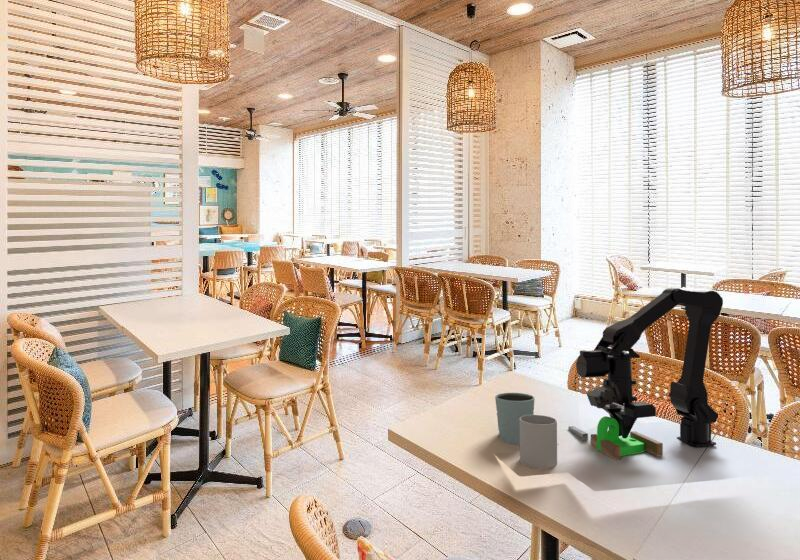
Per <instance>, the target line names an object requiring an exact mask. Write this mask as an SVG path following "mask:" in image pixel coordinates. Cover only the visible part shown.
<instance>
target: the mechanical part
mask: <svg viewBox="0 0 800 560" xmlns="http://www.w3.org/2000/svg"><path fill="white" fill-rule="evenodd" d="M596 426H597V427H596V434H597V449H596V450H597V451H599V450H600V451H601V443H600V439H601V440H609V441H611V442H613V443H615V444H617V445H619V446H621V457H624V456H630V455H635V454H640V453H643V452H645V451H646V450H645V443H644V442H642V441H640V440H638V439H636V438H634V437H631V436H630V435H628V437H627V438H622V436H619V424H618V422H617V420H616V419H614V418H611V417H610V416H606V415H605V416H603V417H601V418H600V419H599V421H598V423H597V425H596ZM600 451H599V452H600Z"/></svg>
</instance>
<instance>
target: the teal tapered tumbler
mask: <svg viewBox="0 0 800 560" xmlns="http://www.w3.org/2000/svg"><path fill="white" fill-rule="evenodd" d="M494 400H495V408H496V416H497V427H498V437H499V438H500V440H501V441H503V442H504V443H507V444H510V445H518V446H520V417H522V416H526V415H535V414H534V413H535V397H534V396H533V395H532V394H529V393H522V392H504V393H503V392H502V393H498V394H496V395H495V397H494Z"/></svg>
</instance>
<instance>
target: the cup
mask: <svg viewBox="0 0 800 560" xmlns="http://www.w3.org/2000/svg"><path fill="white" fill-rule="evenodd" d="M519 461H520V464H522V465H523V466H525V467H529V468H532V469H538V470H540V469H541V470H546V469H553V468H556V466H557V465H558V421H557V419H556V418H555V417H553V416H552V417H551V416H549V415H542V414H541V415H540V414H534V415H526V416H522V417H520V445H519Z"/></svg>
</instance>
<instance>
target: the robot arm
mask: <svg viewBox="0 0 800 560" xmlns="http://www.w3.org/2000/svg"><path fill="white" fill-rule="evenodd" d="M723 305H724V299H723V297H722V296H721V294H720V293H719V292H717V291H714V290H687V289H681V288H679V287H678V288H673V287H671V288H670V287H669V288H666V289H664V290H663V291H662V292H661V293H660V294H659V295H658V296H657V297H655V298H654V299H652V300H651V301H650V302H648V303H647V304H646V305H644V306H643V307H641V308H640V309H639V310H637V311H636V312H635V313H634V314H633V315H631V316H629V317H628V318H625V319H623V320H619V321H617V322H615V323H613V324H611V325H608V326H607V327H605V329H604V330H603V331H602V337H601V338H600V340H599V342H598V343H597V345H596V346H595V347H594V349H593V350H583V349H582V350H579V356H577V359H576V362H575V367H576V372H577V375H578V376H579V377H580V378H581V379H585V378H598V377H599V378H601V377H602V378H603V377H605V376H607V378H604V379H603V381H602V384H603V385H601V386H597V387H595V388H594V389H592V390H589V391H588V392H587V393H586V396H587V399H588V402H589V404H590V406H592V407H593V406H594V407H596V408H597V409H602V410H604V411H605V412H606V413H607V414H609V417H610V418H614V419H616V420H617V422H618V424H619V437H622V438H627V437H628V436H630V432H632V429H633V427H634V424H635V423H636V421H637V420H638V419H640V418H641V419H642V418H652V417H656V416H657V408H656V406H655V405H653V403H650V402H646V401H641V400H640V401H638V400H637V398H638V397H637V396H635V395H634V393H633V385H634V386H635V385H637V380H636V379H633V372H632V371H633V370H632V369H633V368H632V367H633V366H632V359H640V356H641V355H640V354H639V353H637V352H636V351H635V350H634V348H633V347H634V345H636V344H637V342H639V341H640V339H641V336H642V335H643V333H644V332H645V331H646V330H647V329H648V328H649V327H650V326H652V325H653V324H655V323H656V322H657V321H658V320H660V319H661V318H662V317H664V316H665V315H667V314H668V313H669V312H670V311H671V310H673V309H674V308H675V307H677V306H681V307H682V306H683V307H684V313H685V315H686V318H687V320H688V329H687V335H686V336H687V337H686V344H685V349H684V350H685V351H684V355H683V364H682V370H681V376H680V378H679V379H678V380H677V382H675V381H671V382H670V390H669V393H668V397H669V398H670V399H669V400H670V401H669V402H670V404H671V406H673V408H674V409H675V413H676V414H677V415H678V416H681V417H680V423H679V430H680V431H679V434H680V435H679V436H676V439H678V440H679V441H681V442H682V443H685V444H688V445H690V446H693V447H702V446H703V447H705V446H717V442H716V441H713V440H712V423H713V424H714V423H716V422H717V420H718V417H719V414H718V413H717V412H716V411H715V409H713V408H712V407H711V406H710V405H709V397H708V394H709V393H708V391H707V388H706V385H705V382H704V378H705V377H704V376H705V371H706V364H707V363H706V362H707V357H708V350H709V343H710V337H711V336H710V335H711V330H712V326H713V325H714V323H715V322H716V320H717V319H718V318H719V317H720V314H721V311H722V308H723Z"/></svg>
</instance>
